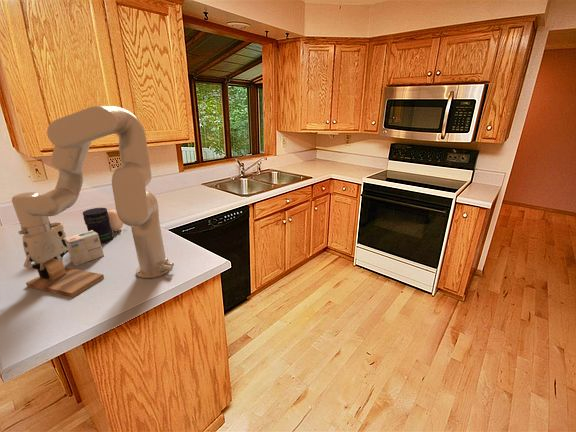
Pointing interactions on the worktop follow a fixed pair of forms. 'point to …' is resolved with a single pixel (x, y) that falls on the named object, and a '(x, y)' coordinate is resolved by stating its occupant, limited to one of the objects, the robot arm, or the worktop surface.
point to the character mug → (59, 231)
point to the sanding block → (54, 268)
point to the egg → (115, 220)
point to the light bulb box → (84, 247)
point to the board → (67, 282)
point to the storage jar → (99, 223)
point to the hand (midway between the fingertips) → (52, 273)
